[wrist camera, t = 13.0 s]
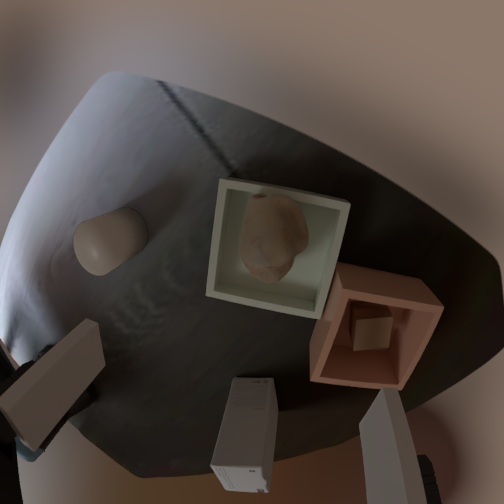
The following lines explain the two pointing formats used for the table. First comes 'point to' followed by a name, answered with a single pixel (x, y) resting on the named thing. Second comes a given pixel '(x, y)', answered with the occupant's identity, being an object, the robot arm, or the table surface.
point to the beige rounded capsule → (109, 240)
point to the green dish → (305, 263)
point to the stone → (272, 236)
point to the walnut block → (369, 325)
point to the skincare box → (247, 436)
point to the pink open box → (402, 332)
